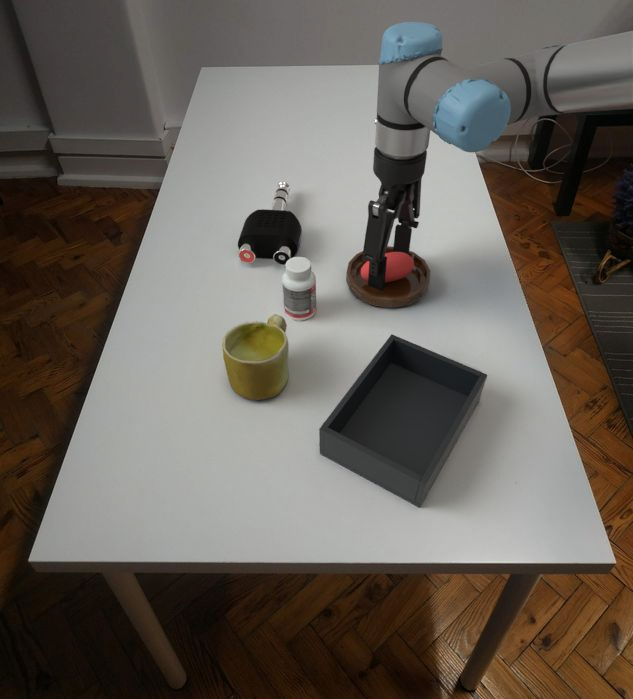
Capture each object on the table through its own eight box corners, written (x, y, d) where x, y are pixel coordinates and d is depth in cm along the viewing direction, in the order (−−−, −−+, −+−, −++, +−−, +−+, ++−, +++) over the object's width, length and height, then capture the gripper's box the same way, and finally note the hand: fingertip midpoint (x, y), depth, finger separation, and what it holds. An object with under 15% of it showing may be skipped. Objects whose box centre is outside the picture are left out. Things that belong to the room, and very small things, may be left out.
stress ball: (412, 296, 95) (424, 261, 93) (364, 285, 92) (376, 249, 90) (400, 286, 99) (412, 252, 97) (355, 275, 96) (366, 241, 94)
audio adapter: (232, 243, 97) (257, 170, 114) (236, 267, 101) (260, 193, 118) (294, 246, 96) (310, 172, 113) (295, 270, 100) (311, 195, 117)
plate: (441, 273, 99) (443, 262, 97) (405, 321, 91) (407, 310, 89) (371, 248, 104) (372, 237, 102) (331, 291, 96) (331, 280, 94)
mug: (266, 417, 76) (252, 352, 71) (216, 399, 82) (200, 339, 77) (321, 375, 84) (311, 315, 79) (272, 362, 90) (260, 305, 85)
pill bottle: (319, 318, 91) (319, 272, 84) (287, 324, 91) (284, 277, 83) (312, 297, 95) (310, 251, 88) (281, 302, 94) (277, 256, 87)
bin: (479, 400, 79) (487, 374, 75) (419, 508, 68) (425, 484, 64) (388, 360, 85) (391, 333, 81) (319, 454, 74) (319, 428, 70)
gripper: (409, 113, 86) (396, 234, 103) (340, 173, 74) (338, 299, 91) (454, 124, 84) (434, 247, 100) (390, 188, 72) (378, 316, 88)
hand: (388, 272), depth 96 cm, fingers closed on stress ball, 8 cm apart
